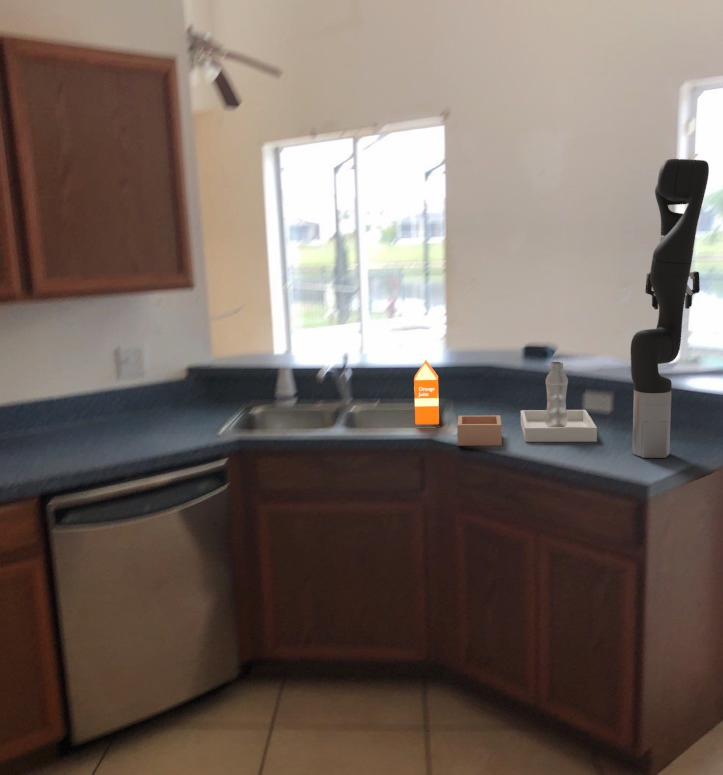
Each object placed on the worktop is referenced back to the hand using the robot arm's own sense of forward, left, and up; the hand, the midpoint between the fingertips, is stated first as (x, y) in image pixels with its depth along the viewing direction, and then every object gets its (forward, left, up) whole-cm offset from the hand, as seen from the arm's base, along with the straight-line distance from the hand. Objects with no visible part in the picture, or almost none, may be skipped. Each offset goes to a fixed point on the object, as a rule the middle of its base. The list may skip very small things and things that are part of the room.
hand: (671, 308), depth 221 cm
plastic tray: (0, +32, -36) cm, 48 cm away
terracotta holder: (-10, +55, -36) cm, 67 cm away
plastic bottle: (0, +32, -35) cm, 48 cm away
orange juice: (+15, +72, -36) cm, 82 cm away
